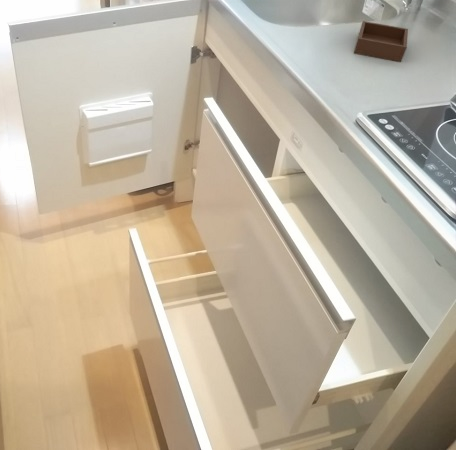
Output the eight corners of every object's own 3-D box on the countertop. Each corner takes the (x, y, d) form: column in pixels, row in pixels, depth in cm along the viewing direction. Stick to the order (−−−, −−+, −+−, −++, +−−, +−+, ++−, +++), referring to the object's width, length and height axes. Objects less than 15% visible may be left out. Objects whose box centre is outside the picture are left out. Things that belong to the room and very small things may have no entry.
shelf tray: (402, 43, 124) (408, 28, 122) (400, 62, 116) (406, 47, 114) (358, 35, 127) (362, 20, 124) (353, 53, 119) (358, 38, 117)
